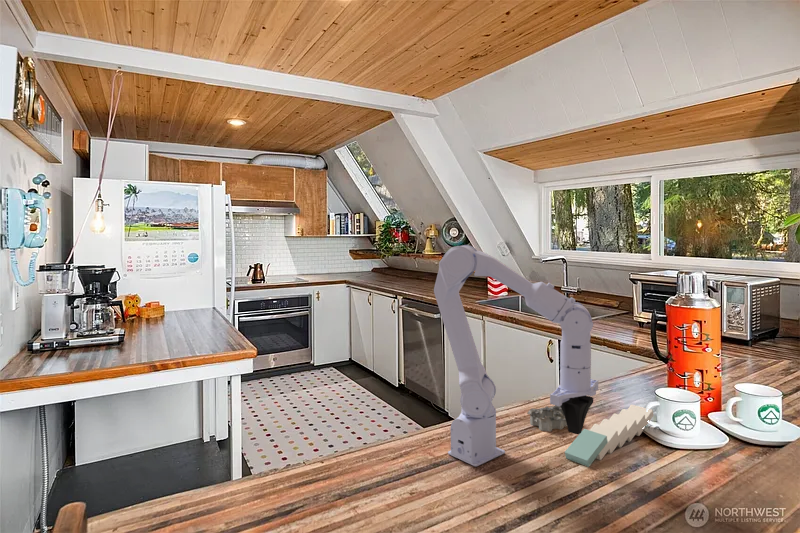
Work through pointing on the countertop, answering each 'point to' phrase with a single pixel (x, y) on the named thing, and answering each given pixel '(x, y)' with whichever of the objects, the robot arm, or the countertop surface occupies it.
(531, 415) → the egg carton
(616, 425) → the domino
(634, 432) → the domino
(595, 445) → the domino
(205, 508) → the countertop surface
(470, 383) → the robot arm
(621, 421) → the domino
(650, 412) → the domino
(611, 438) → the domino
